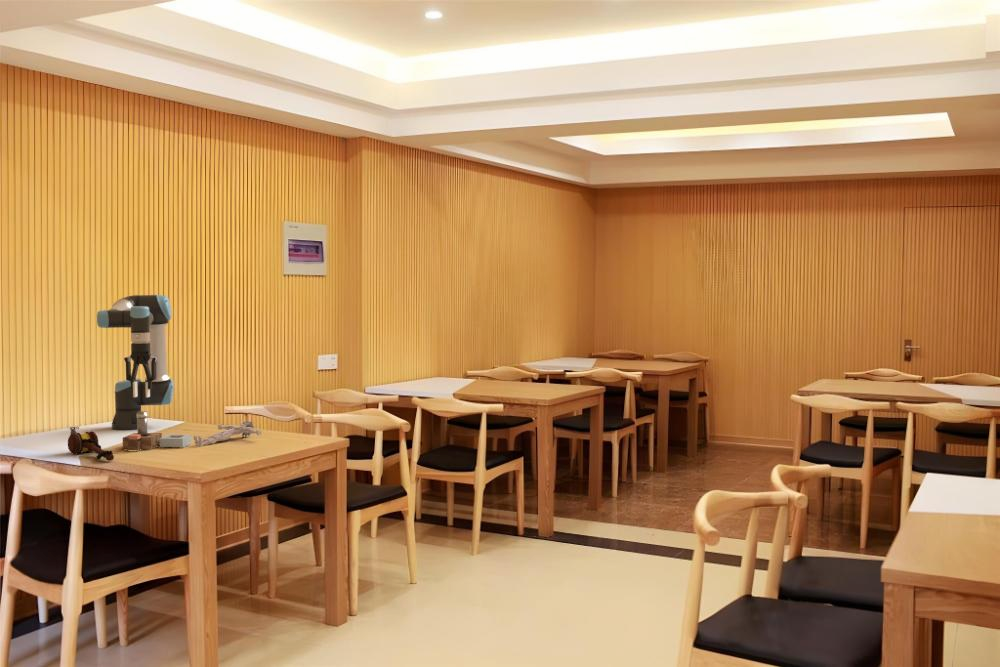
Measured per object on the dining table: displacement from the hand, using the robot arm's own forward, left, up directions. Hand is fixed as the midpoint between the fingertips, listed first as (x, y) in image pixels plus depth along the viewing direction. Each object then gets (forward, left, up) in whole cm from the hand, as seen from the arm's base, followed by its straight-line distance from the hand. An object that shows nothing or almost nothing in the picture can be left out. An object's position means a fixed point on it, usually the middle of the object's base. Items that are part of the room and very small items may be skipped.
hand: (141, 396), depth 381 cm
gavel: (+21, -11, -22) cm, 32 cm away
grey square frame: (-3, +13, -22) cm, 25 cm away
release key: (+8, 0, -21) cm, 22 cm away
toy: (-15, +31, -22) cm, 41 cm away
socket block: (+2, 0, -22) cm, 22 cm away
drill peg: (0, 0, -22) cm, 22 cm away
